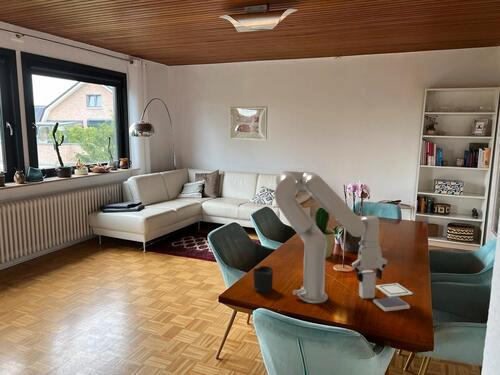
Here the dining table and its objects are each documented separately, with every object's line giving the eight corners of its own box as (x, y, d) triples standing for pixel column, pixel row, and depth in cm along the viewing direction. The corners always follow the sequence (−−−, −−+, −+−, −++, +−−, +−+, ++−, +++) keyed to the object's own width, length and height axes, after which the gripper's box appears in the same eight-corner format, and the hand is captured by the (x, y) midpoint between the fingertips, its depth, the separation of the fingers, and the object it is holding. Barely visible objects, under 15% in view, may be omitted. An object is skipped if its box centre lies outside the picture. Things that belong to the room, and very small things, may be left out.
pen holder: (253, 285, 186) (253, 265, 185) (272, 285, 186) (272, 266, 184) (253, 293, 177) (253, 273, 175) (273, 293, 177) (273, 273, 175)
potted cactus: (323, 260, 220) (325, 210, 216) (303, 254, 232) (304, 206, 227) (339, 255, 230) (341, 206, 226) (319, 249, 242) (320, 203, 237)
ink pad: (384, 311, 159) (385, 307, 159) (373, 302, 168) (373, 298, 168) (409, 308, 162) (410, 304, 162) (397, 299, 171) (397, 295, 171)
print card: (389, 297, 173) (389, 295, 173) (375, 286, 184) (375, 285, 184) (412, 294, 176) (412, 292, 175) (397, 284, 187) (397, 282, 187)
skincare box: (371, 294, 176) (372, 269, 174) (375, 298, 171) (376, 273, 170) (358, 294, 175) (359, 270, 173) (362, 299, 171) (363, 273, 169)
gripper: (356, 247, 164) (356, 285, 167) (391, 243, 168) (391, 280, 170) (348, 242, 171) (347, 278, 174) (382, 239, 175) (381, 274, 178)
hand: (369, 279), depth 172 cm, fingers open, 9 cm apart
